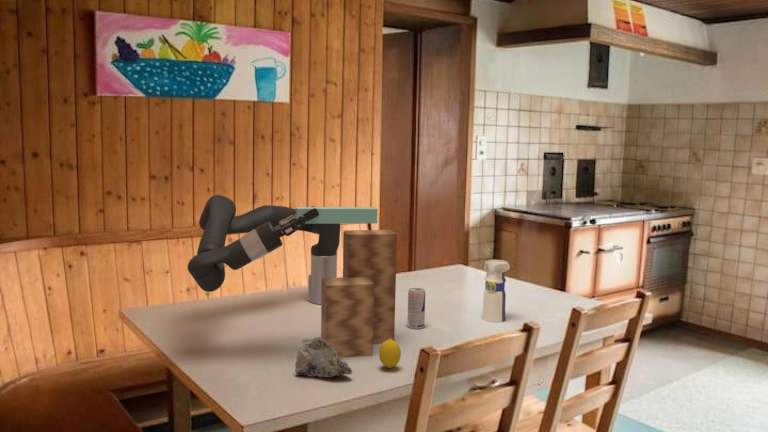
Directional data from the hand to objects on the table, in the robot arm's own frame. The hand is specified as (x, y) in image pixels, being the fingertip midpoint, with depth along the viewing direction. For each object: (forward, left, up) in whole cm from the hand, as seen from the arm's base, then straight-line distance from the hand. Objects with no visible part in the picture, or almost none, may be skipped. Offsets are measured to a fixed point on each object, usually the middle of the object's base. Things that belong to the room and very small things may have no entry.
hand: (316, 210), depth 179 cm
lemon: (+25, -3, -39) cm, 47 cm away
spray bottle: (+35, +55, -39) cm, 76 cm away
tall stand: (+9, +15, -39) cm, 43 cm away
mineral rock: (+13, -16, -40) cm, 45 cm away
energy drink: (+16, +34, -39) cm, 54 cm away
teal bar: (+4, +3, -3) cm, 7 cm away
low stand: (+8, +3, -39) cm, 40 cm away
